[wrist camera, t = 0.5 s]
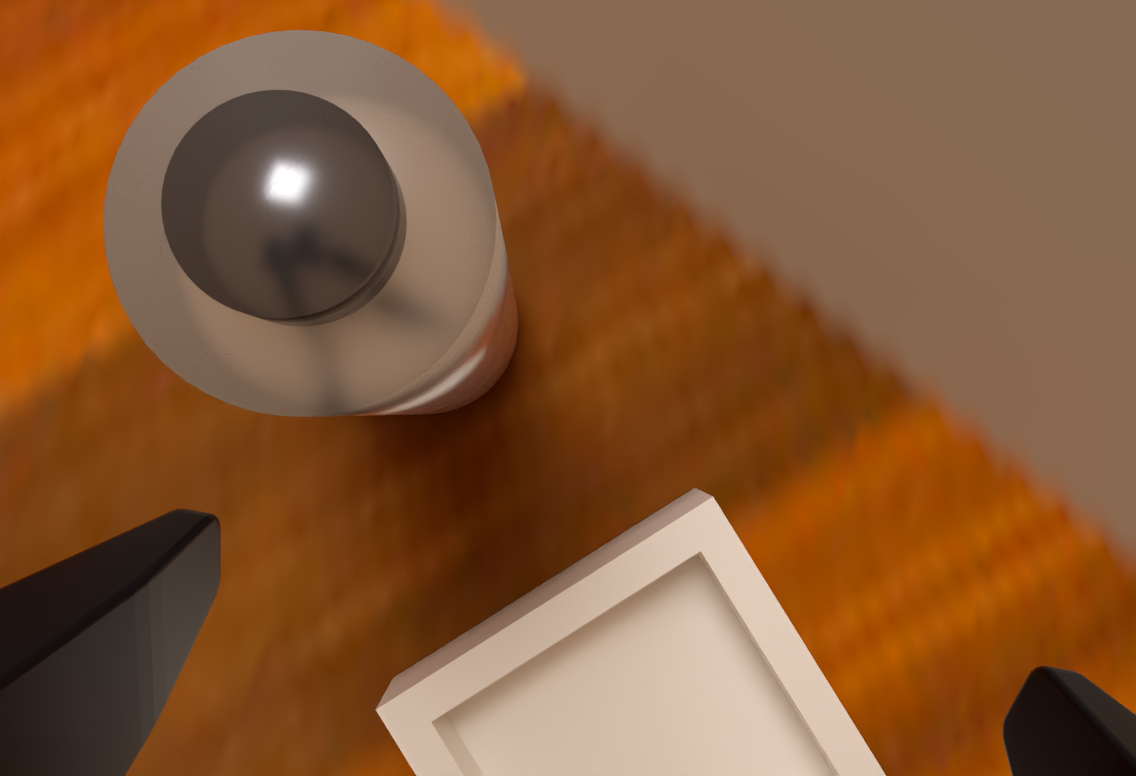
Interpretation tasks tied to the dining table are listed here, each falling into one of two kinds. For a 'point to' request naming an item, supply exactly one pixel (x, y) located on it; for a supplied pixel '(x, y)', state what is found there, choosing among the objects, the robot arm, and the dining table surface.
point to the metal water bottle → (312, 233)
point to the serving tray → (632, 672)
